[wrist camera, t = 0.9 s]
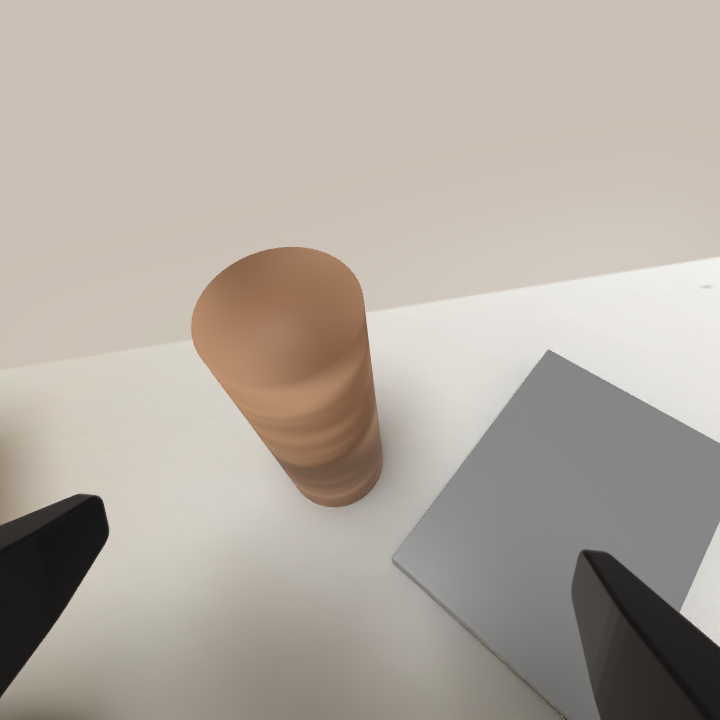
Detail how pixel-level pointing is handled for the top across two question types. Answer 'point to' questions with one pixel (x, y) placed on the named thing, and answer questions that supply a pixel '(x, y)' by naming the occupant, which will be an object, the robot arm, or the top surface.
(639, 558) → the slate board
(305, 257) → the banded brown cylinder
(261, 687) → the top surface
